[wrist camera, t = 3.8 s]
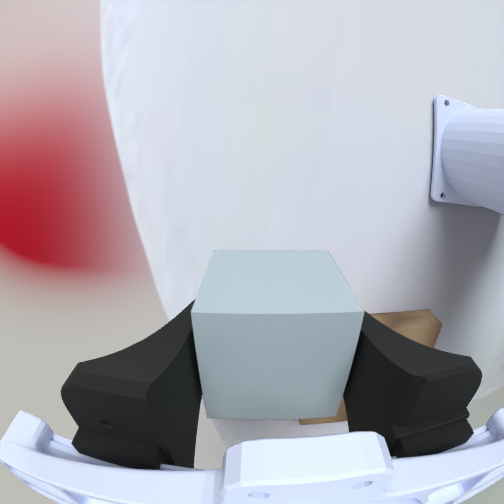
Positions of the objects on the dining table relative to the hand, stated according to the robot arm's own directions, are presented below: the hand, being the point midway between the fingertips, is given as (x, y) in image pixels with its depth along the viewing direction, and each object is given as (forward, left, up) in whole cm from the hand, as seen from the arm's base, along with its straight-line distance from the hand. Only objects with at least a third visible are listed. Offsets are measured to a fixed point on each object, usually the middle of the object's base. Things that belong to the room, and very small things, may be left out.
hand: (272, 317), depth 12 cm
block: (0, 0, -1) cm, 1 cm away
